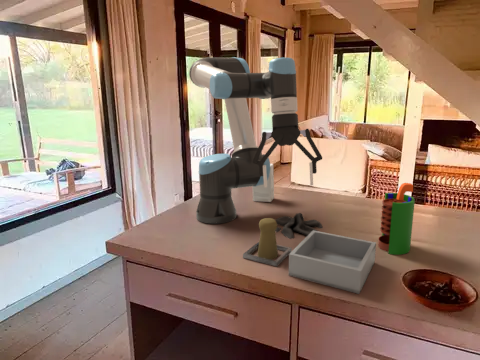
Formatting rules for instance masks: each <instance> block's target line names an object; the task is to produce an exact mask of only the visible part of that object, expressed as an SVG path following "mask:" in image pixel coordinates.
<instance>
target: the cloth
mask: <svg viewBox="0 0 480 360" xmlns="http://www.w3.org/2000/svg"><path fill="white" fill-rule="evenodd" d="M274 220H275V221H276V222H277V228H276V230H275V233H279V232H280V231H281V233H282V235H283V236H284V237H285V238H287V239H290V240H294V238H295V235H294V233H299V234H302V235H303V236H305V238H306V237H307V236H308V235H309V234H310V233H311V232H312V231H313V230H314V231H318V230H317V229H316V228H318V229H323V225H322V223H321V222H320V221H319V220H316V219H311V220H310V219H308V220H305V219H304V216H303V214H302V212H298V213H296V214H295V215H294V216H293V217H291V216H287V215H284V216H280V217H278V218H276V219H274ZM278 226H281V227H282V228H281V227H278Z"/></svg>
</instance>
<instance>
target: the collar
mask: <svg viewBox="0 0 480 360" xmlns="http://www.w3.org/2000/svg"><path fill="white" fill-rule="evenodd" d="M258 247H259V241H258V242H257V243H254V245H252V246H251V247H250V248H249V249H248V250H246V251H245V252H244V253H243V254H242V258H243V259H246V260H249V261H253V262H257V263H261V264H266V265H269V266H273V267H278V266H279V265H280V264H281V263H282V262H283V261H284V260H285V258H287V257H289V254H290V253H291V252H292V251H293V250H292V249H293V248H292V247H290V246H285V245H281V244H277V250H278V251H282V252H283V253H281V255H280V256H278V257H277V258H275V259H266V258H262V257H258V255H253V253H254V252H255V251H257V250H258Z"/></svg>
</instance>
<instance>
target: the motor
mask: <svg viewBox="0 0 480 360" xmlns="http://www.w3.org/2000/svg"><path fill="white" fill-rule="evenodd" d="M407 192H408V193H409V192H410V193H414V184H412V183H410V182H409V183H408V182H404V183H401V184H400V186H399V188H398V191H397V192H385V193H384V199H382V202H381V203H382V206H381V210H382V211H381V214H380V215H381V217H380V221H381V222H380V228H379V229H380V230H379V231H380V233H381V235H380V236H379V237H378V240H377V241H378V242H377V247H378V248H379V249H380V250H382V251H384V252H388V253H387V254H389V255H395V256H396V255H397V256H399V255H405V254H409V252H410V251H411V245H412V244H411V242H412V231H413V221H414V212H415V203H416V201H415V200H416V199H415V198H414V197H413V196H411V195H408V194H406V193H407Z"/></svg>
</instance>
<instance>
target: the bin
mask: <svg viewBox="0 0 480 360" xmlns="http://www.w3.org/2000/svg"><path fill="white" fill-rule="evenodd" d="M376 249H377V242H375V241H371V240H370V241H369V240H365V239H360V238H354V237H349V236H344V235H340V234H339V235H338V234H334V233H330V232H329V233H328V232H324V231H319V230H317V231H314V230H313V231H312V232H311V233H310V234H309V235H308V236H307V237H306V236H305V238H303V239H302V241H301V242H299V244H298V245H296V247H295V248H293V250H292V252H291V253H290V254H289V255H288V276H289V277H290V276H291V277H293V278H294V277H295V278H297V279H301V280H305V281H308V282H313V283H317V284H320V285H324V286H328V287H331V288H336V289H339V290H342V291H347V292H350V293H354V294H357V295H359V294H360V293H361V291H362V290H363V287H364V285H365V283H366V281H367V278H368V277H369V274H370V272H371V271H372V269H373V266H374V264H375V259H376Z"/></svg>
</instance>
